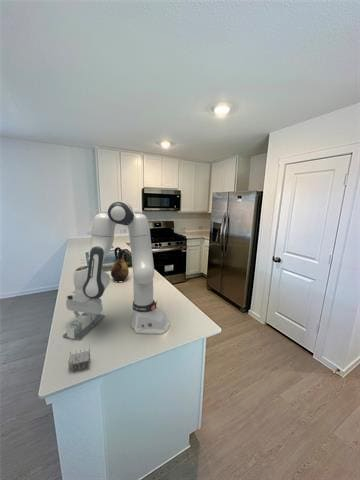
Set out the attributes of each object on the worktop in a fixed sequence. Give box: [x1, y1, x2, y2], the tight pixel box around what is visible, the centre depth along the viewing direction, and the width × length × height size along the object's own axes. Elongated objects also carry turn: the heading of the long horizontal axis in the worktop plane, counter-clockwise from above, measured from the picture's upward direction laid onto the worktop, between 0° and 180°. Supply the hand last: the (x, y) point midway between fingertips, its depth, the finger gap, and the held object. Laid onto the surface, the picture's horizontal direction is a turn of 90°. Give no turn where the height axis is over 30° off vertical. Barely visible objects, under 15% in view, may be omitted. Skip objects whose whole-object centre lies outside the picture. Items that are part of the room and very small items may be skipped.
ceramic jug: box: [110, 246, 130, 282], centre depth 176 cm, size 17×15×30 cm
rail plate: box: [62, 312, 106, 341], centre depth 111 cm, size 10×23×6 cm, turn 169°
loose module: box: [77, 312, 92, 328], centre depth 110 cm, size 4×6×6 cm, turn 169°
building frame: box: [67, 347, 91, 373], centre depth 84 cm, size 6×8×6 cm
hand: (85, 318), depth 110 cm, fingers open, 8 cm apart
